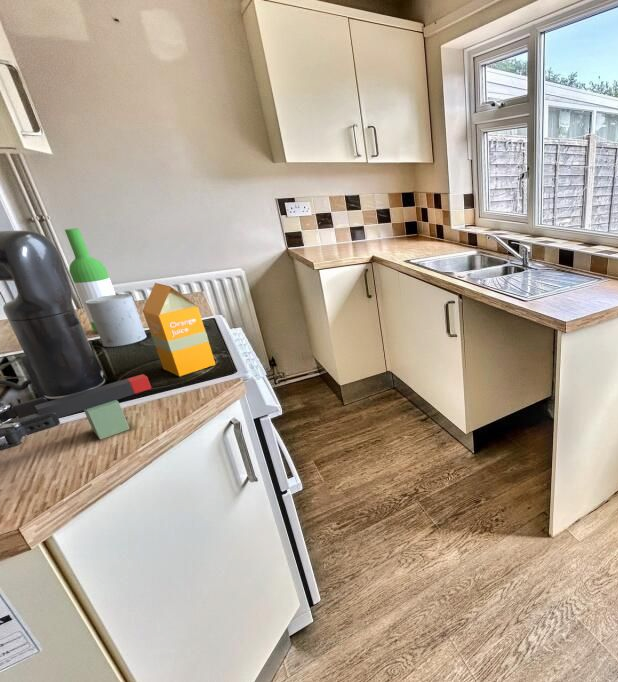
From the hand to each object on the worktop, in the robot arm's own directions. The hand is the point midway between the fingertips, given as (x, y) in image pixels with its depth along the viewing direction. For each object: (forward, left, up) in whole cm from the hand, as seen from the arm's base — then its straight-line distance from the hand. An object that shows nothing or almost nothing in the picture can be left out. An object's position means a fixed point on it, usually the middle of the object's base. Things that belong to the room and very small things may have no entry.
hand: (52, 409), depth 68 cm
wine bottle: (-35, +71, -7) cm, 79 cm away
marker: (+4, +4, 0) cm, 5 cm away
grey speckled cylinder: (-24, +58, -7) cm, 63 cm away
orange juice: (+4, +32, -7) cm, 33 cm away
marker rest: (+4, +4, -7) cm, 9 cm away
